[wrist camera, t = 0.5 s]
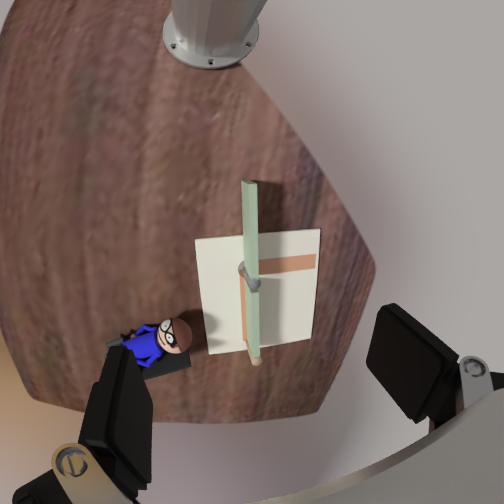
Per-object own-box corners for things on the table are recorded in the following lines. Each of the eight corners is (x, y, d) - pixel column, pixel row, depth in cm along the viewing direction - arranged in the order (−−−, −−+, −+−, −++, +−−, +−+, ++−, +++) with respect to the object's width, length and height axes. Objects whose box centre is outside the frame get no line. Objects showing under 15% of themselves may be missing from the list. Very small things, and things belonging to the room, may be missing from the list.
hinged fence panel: (253, 274, 39) (261, 288, 35) (242, 275, 39) (248, 290, 35) (251, 179, 35) (259, 183, 31) (239, 180, 34) (245, 184, 30)
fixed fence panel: (242, 277, 40) (249, 295, 35) (253, 276, 40) (261, 293, 35) (245, 345, 44) (252, 366, 39) (254, 344, 44) (262, 364, 40)
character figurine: (103, 330, 39) (184, 303, 40) (124, 363, 41) (202, 340, 42) (89, 358, 31) (183, 330, 33) (116, 393, 34) (204, 370, 35)
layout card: (194, 239, 37) (194, 240, 36) (319, 228, 40) (320, 229, 39) (209, 352, 44) (209, 354, 43) (309, 336, 47) (310, 338, 47)
